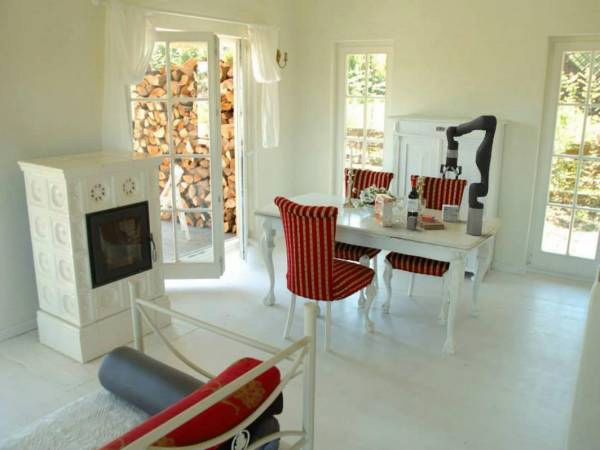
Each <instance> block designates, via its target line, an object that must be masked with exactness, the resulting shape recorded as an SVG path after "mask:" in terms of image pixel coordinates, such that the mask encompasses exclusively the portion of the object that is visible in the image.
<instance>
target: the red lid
mask: <svg viewBox="0 0 600 450" xmlns="http://www.w3.org/2000/svg"><path fill="white" fill-rule="evenodd" d="M421 217H422V221H426V222H432V221H434V219H435V216H434V215H428V214H424V215H422V216H421Z"/></svg>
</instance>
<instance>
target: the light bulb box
mask: <svg viewBox="0 0 600 450" xmlns="http://www.w3.org/2000/svg"><path fill="white" fill-rule="evenodd" d="M459 209H460V207H459V205H457V204H442V210H441V221H442V222H454V223H455V222H456V223H457V222H459Z"/></svg>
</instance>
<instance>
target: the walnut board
mask: <svg viewBox="0 0 600 450" xmlns="http://www.w3.org/2000/svg"><path fill="white" fill-rule="evenodd" d="M416 217H417V227H418V226H419V227H420V228H422V230H442V229H443V230H444V229H445V223H443V222H441V221H439V220H438V219H436V218H434V221H432V222H426V221H422V216H416Z"/></svg>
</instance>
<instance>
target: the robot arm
mask: <svg viewBox="0 0 600 450" xmlns="http://www.w3.org/2000/svg"><path fill="white" fill-rule="evenodd" d="M497 124H498V120H497V117H496V116H495V115H493V114H491V115H490V114H485V115H484V114H483V115H480V116H478V117H476V118H475V119H472V120H471V121H468V122H464V123H461V124H459V125H456V126H455V125H454V126H448V127H447V128H446V131H445V134H446V140H447V147H446V148H447V149H446V157H445V164H444V163H442V164H440V169H439V170H440V171H439V173H440V174H442V175H441V176H442V180H444V181H445V180H446V173H447V172H453V173H454V175H455V179H454V181H455V182H458V180H459V176H461V175H462V174H463V173H462V172H463V166H462V165H458V159H459V145H460V143H459V141H458V140H455V138H460V137H462V136H463V135H468V134H471V133H472V132H473V131H483V132H484V131H485V133H484V134H485V135H484V136H483V140H482V142H481V143H480V144H479V146H478V147H477V150H476V152H475V153H476V154H475V161H474V162H475V165H476V167H477V169H478V171H479V174H480V182H471V183H470V184H469V187H468V198H467V199H468V201H467V202H468V207H467V208H468V209H467V211H468V212H467V220H466V230H465V231H466V233H465V234H467V235H471V236H482V231H483V222H484V221H483V219H484V218H483V216H484V209H485V204H484V203H483V202H481V201H478V198H485V197H487V196H488V193H489V184H490V169H491V168H490V167H491V161H492V153H493V152H492V151H493V145H494V140H495V139H494V138H495V136H496V135H495V134H496V131H497ZM444 168H445V169H444Z"/></svg>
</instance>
